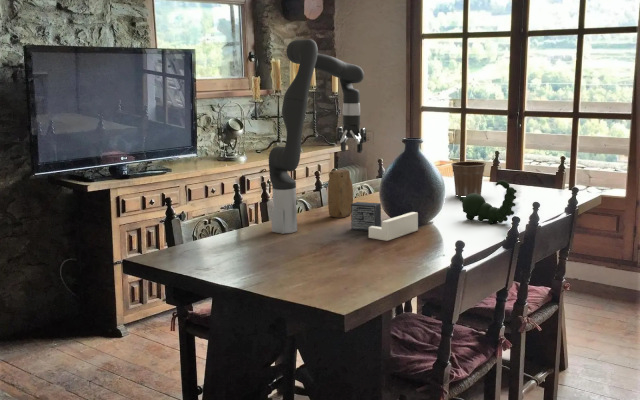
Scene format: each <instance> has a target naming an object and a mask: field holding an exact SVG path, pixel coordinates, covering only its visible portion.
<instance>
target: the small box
mask: <svg viewBox="0 0 640 400" xmlns="http://www.w3.org/2000/svg"><path fill="white" fill-rule="evenodd" d="M381 210H382V203H380V202H364V201H356V202H353V204H351V214H350V215H351V216H350V217H351V218H350V219H351V231H360V232H361V231H363V232H369V227H371V226H377V227H382V211H381Z"/></svg>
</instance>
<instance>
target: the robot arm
mask: <svg viewBox="0 0 640 400" xmlns="http://www.w3.org/2000/svg"><path fill="white" fill-rule="evenodd" d="M285 52H286V57H287V58H288V60H289V61H290V62H291V63H293V64H296V65H298V67H297V68H298V69H297V73H296V75H295V77H294V78H293V80H292V82H291V83H290V85H289V86H288V87H287V89H286V91H285V93H284V96H283V101H282V107H281V116H282V120H283V123H284V126H285V129H286V139H285V140H286V141H285V145H284V146H280V145H279V146H274V147H273V148H272V149H271V150H270V151H269V155H268V170H269V180H270V183H271V186H272V208H271V211H270V212H271V213H270V214H271V232H272V233H277V234H282V235H283V234H291V233H295V232H297V231H298V217H297V216H298V214H297V213H298V211H297V182H296V180H295V179H294V178H293V177H291V176H290V174H289V172H294V171H295V170H296V169H297V168H298V166H299V164H300V159H301V152H302V151H301V148H302V136H303V128H304V123H305V117H306V113H307V112H306V111H307V106H308V100H309V99H308V98H309V94H310V88H311V84H312V77H313V75H314V70H315V69H316V70H318V71H321V72H323V73H326V74H327V75H330V76H333V77H334V78H339V82H340V87H341V91H342V95H343V96H342V100H343V102H342V103H343V104H342V125H343V126H338V127H337V129H336V141H337V142H340V150H341V152H344V153H345V152H346V150H347V148H346V147H347V143H346V142H347V140H348V139H354V140H355V141H356V147H357V148H356V152H357V153H358V154H360V153H362V152H363V144H364V143H367V142H368V140H367V129H366V128H365V127H364V128H361V127H360V126H361V100H360V99H361V95H360V90H359V89H356V88H354V86H353V84H360V83H361V82H362V81H363V80H364V78H365V72H364V70H363V69H362V67H361V66H359V65H356V64H354V63H353V64H352V63H349V62H346V61H343V60H340V59H339V58H337V57H334V56H331V55H327V54H322V53H319V49H318V45H317V42H316V41H315V40H313V39H310V38H308V39H295V40H292V41H290V42H289V43H288V45H287V47H286V51H285Z"/></svg>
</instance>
